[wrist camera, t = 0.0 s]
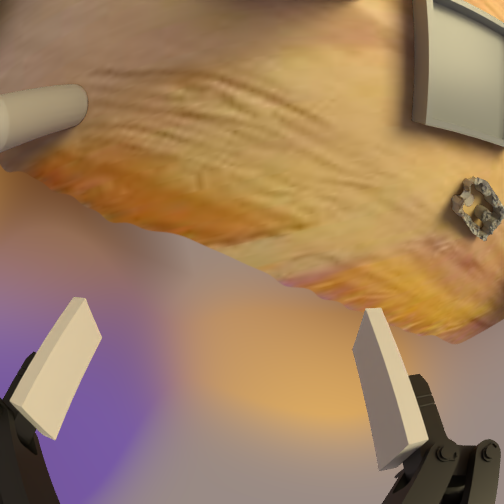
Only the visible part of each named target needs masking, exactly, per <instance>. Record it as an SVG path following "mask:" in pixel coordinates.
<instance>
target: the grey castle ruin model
mask: <svg viewBox="0 0 504 504" xmlns="http://www.w3.org/2000/svg"><path fill="white" fill-rule="evenodd" d="M472 184H475V189H476V190H478V191H479V192H481V193H482V194H483V195H485V196H484V198H485V200H486V201H487V202H488V203H490V204H491V205H492V206H493V210H494V211H493V213H492V214H491V212H490V211H489V210H488V209H487V208H486V207H484V206H483V205H481V204H479V205H477V206H476V207H475V210H474V214H475V216H476V217H477V218H479V219H480V220H481V221H482V222H483V225H484V226H483V228H482V229H481V230H480V229H479V226H478V225H477V224H475V223H474V222H473V221H472V220H471V217H470V216H469V215H467V214H466V213H465V212H464V211H463V205H464V203H465V205H466V206H471V205H472V204H473V202H474V196H473V194H470V193H471V190H470V189H471V188H470V186H471V185H472ZM463 185H464V190H463V192H462V194H461V195H458V196H457V195H454V196H453V198H452V202H453V207H452V210H453V211H454V212H455V213H456V214H457V215H458V216H460V217H463V219H462V220H463V221H464V222H465V223H466V224H467V225H468V227H469V228H470V230H471V231H472V233H473V234H475V235H476V236H477V237H479V238H480V239H482V240H483V241H486V240H487V236H488V235H490V234H493V231H494V230H495V229H496V228H497V227H498V225H500V224H501V220H502V219H504V206H503V205H502V204H501V202H500V201H499V198H498V197H497V195H496V194H495V192H494V191H493V190H492V188H491V186H490V185H489V183H488V182H487V181H485V180H483V179H480V178H478V177H477V178H475V177H472V178H471V179H465V180H464V181H463Z"/></svg>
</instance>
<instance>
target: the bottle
mask: <svg viewBox="0 0 504 504" xmlns="http://www.w3.org/2000/svg"><path fill="white" fill-rule="evenodd" d="M87 109H88V97H87V94H86V92H85V90H84V89H83V88H82V87H81V86H79V85H77V84H67V85H56V86H48V87H41V88H34V89H28V90H22V91H17V92H12V93H7V94H2V95H0V153H1V152H3V151H5V150H8V149H10V148H13V147H15V146H18V145H20V144H23V143H26V142H28V141H31V140H34V139H37V138H40V137H43V136H46V135H49V134H52V133H55V132H58V131H61V130H64V129H67V128H70V127H74V126H76V125H78V124H79V123H80V122H81V121H82V120H83V118H84V117H85V115H86V112H87Z"/></svg>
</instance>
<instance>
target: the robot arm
mask: <svg viewBox="0 0 504 504" xmlns="http://www.w3.org/2000/svg"><path fill="white" fill-rule="evenodd" d="M101 338H102V336H101V334H100V332H99V330H98V328H97V325H96V323H95V321H94V318H93V316H92V313H91V311H90V309H89V306H88V303H87V301H86V298H78V297H73V299H72V300H71V302H70V303H69V305H68V306H67V307H66V309H65V310H64V312H63V313H62V315H61V316H60V317H59V319H58V321H57V322H56V323H55V325H54V326H53V328H52V330H51V331H50V333H49V334H48V336H47V337H46V339H45V340H44V342H43V343H42V345H41V347H40V348H39V350H38V351H37V353H36V352H33V353H32V354H31V355H30V356H29V357H27V358H26V360H25V361H24V363H23V365H22V366H21V369H20V370H19V371H18V373H17V375H16V377H15V378H14V380H13V382H12V384H11V385H10V387H9V389H8V391H7V393H6V395H5V396H4V398H3V400H2V399H1V398H0V504H60V502H59V500H58V498H57V495H56V493H55V490H54V487H53V485H52V482H51V479H50V476H49V473H48V471H47V467H46V464H45V461H44V458H43V455H42V451H41V448H40V444H39V440H38V437H37V435H36V433H35V431H36V429H37V430H38V431H40V433H42V434H43V435H44V436H47V437H49V438H51V439H54V440H56V437H57V435H58V432H59V430H60V427H61V425H62V422H63V420H64V418H65V415H66V413H67V411H68V408H69V406H70V404H71V401H72V399H73V397H74V394H75V392H76V390H77V388H78V386H79V384H80V381H81V379H82V377H83V375H84V373H85V371H86V369H87V367H88V365H89V363H90V360H91V358H92V356H93V354H94V352H95V350H96V348H97V346H98V345H99V343H100V341H101ZM353 354H354V357H355V361H356V365H357V369H358V373H359V377H360V381H361V386H362V390H363V394H364V399H365V403H366V407H367V412H368V417H369V421H370V426H371V431H372V436H373V441H374V446H375V451H376V457H377V462H378V468H379V471H382V470H387V469H392V468H396V467H398V466H399V465H400V464H401V463H403V466H404V469H403V470H401V471H400V472H399V473H398V474H397V475H396V476H395V478H397V477H398V479H397V481H396V482H395V484H394V486H393V487H392V489H391V490H390V492H389V493H388V495H387V497H386V498H385V500H384V501H383V503H382V504H495V499H496V493H497V486H498V478H499V468H500V458H501V452H500V448H499V445H498V444H497V443H496V442H495V441H493V440H491V439H488V440H484V441H482V442H481V443H480V444H478V445H477V446H462V445H457V444H456V443H455V442H453V441H452V440H450V439H448V437H447V436H446V433H445V431H444V428H443V425H442V422H441V419H440V416H439V413H438V410H437V407H436V405H435V404H434V403H435V402H434V399H433V396H431V394H432V393H431V391H430V388H429V386H428V383H427V382H426V381H425V379H424V378H423V377H422V376H421V375H420V374H416V375H410V376H408V374H407V371H406V369H405V366H404V364H403V361H402V358H401V355H400V353H399V350H398V348H397V345H396V343H395V340H394V338H393V335H392V333H391V330H390V328H389V325H388V323H387V321H386V318H385V316H384V314H383V311H382V309H381V308H366V309H365V312H364V316H363V319H362V322H361V325H360V328H359V331H358V334H357V337H356V341H355V343H354V346H353Z"/></svg>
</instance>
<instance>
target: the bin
mask: <svg viewBox="0 0 504 504" xmlns="http://www.w3.org/2000/svg"><path fill="white" fill-rule="evenodd" d="M412 4H413V19H414V92H413V108H412V121H414V122H418V123H421V124H424V125H428V126H433V127H437V128H441V129H445V130H449V131H453V132H457V133H461V134H464V135H468V136H471V137H475V138H478V139H481V140H484V141H488V142H491V143H494V144H497V145H500V146H502V147H504V23H503V22H502V21H500V20H498V19H497V18H495V17H493V16H491V15H490V14H488V13H486V12H484V11H483V10H481V9H479V8H477V7H475V6H473V5H471V4H469V3H467V2H465V1H463V0H412Z"/></svg>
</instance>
